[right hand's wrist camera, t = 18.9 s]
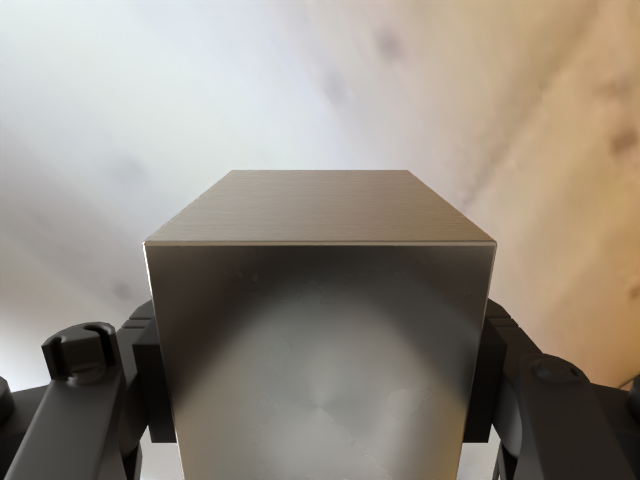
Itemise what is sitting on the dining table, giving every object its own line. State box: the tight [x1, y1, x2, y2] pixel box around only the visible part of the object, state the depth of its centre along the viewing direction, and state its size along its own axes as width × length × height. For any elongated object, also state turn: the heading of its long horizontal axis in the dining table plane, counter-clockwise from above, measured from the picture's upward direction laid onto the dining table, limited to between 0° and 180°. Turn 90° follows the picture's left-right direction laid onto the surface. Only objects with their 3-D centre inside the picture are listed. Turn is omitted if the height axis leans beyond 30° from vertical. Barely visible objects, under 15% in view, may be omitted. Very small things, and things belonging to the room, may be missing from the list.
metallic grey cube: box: [143, 170, 497, 480], centre depth 11 cm, size 6×7×7 cm
